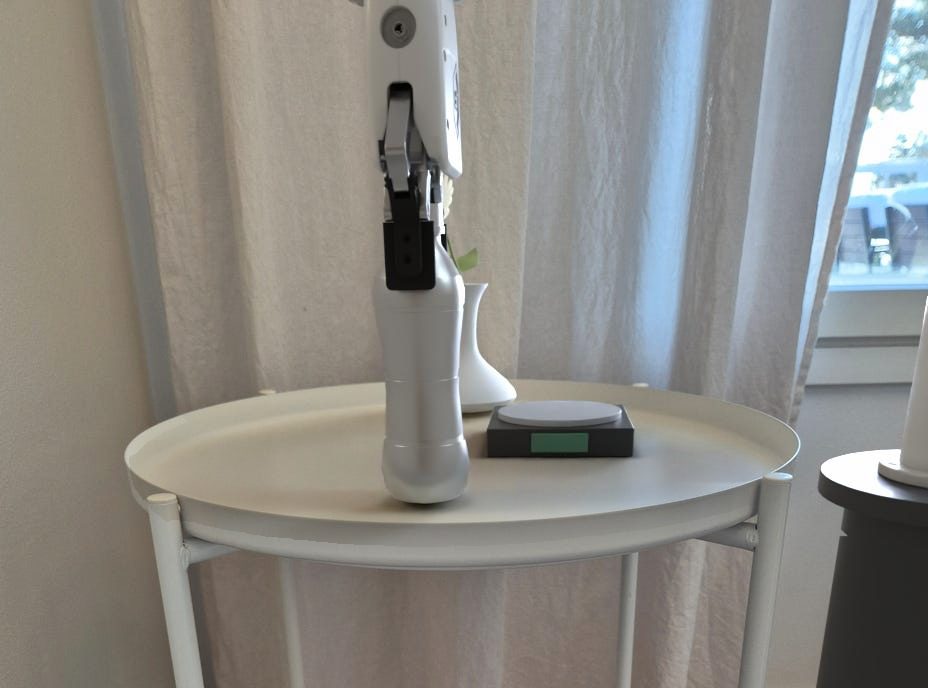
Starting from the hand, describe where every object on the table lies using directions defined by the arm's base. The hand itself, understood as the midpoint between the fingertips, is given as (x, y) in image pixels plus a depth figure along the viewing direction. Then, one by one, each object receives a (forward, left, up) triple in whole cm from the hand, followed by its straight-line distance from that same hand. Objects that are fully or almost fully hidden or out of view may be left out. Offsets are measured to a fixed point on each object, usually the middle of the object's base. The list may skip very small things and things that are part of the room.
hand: (418, 285), depth 61 cm
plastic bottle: (0, 0, -15) cm, 15 cm away
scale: (-10, -22, -15) cm, 28 cm away
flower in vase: (+1, -40, -15) cm, 43 cm away
